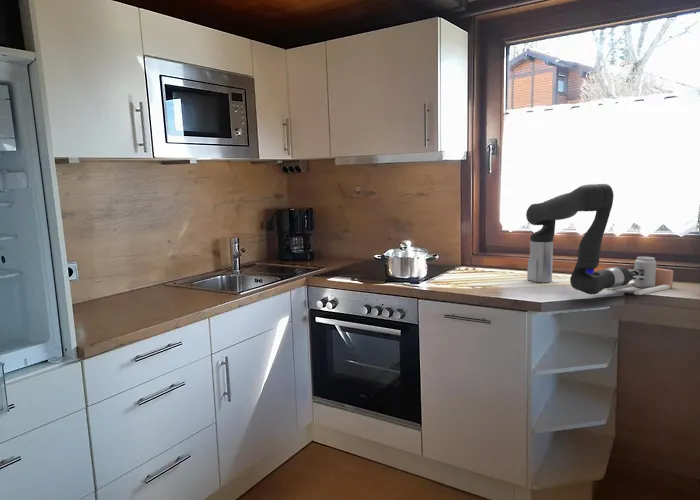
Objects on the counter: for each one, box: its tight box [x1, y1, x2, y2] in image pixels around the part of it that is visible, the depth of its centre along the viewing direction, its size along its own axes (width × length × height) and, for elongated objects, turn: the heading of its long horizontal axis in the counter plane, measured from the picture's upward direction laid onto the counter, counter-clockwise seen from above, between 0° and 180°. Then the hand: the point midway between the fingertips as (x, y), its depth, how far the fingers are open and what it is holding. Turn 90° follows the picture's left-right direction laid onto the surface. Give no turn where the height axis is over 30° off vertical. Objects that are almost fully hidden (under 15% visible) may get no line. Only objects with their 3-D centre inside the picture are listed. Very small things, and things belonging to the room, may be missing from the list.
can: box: [633, 256, 657, 289], centre depth 207 cm, size 8×8×12 cm
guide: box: [606, 267, 674, 296], centre depth 205 cm, size 22×13×7 cm, turn 120°
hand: (641, 271), depth 205 cm, fingers closed
